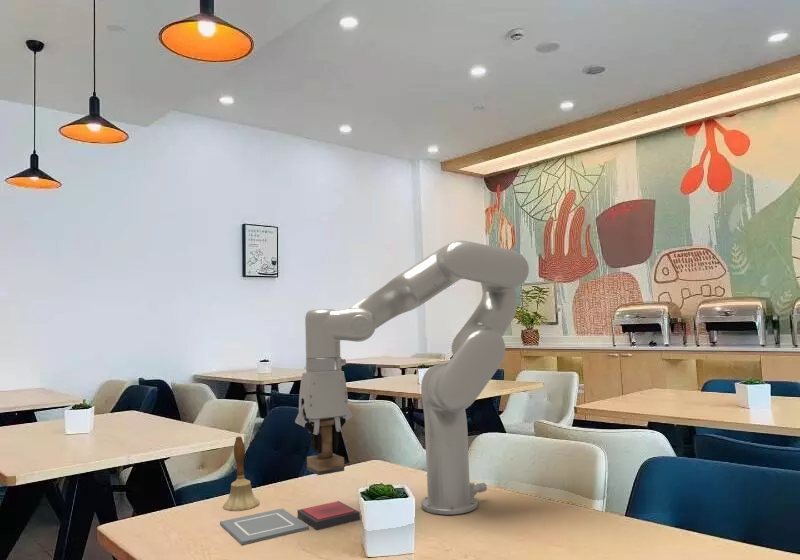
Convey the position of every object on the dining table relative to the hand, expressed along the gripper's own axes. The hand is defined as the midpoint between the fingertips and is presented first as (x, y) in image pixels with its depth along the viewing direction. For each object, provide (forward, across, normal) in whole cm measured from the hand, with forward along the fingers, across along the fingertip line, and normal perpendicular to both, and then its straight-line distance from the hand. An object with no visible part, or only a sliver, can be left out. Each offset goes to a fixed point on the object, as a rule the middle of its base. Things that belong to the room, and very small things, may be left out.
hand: (325, 450), depth 130 cm
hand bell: (+15, +12, -22) cm, 29 cm away
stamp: (+4, 0, 0) cm, 4 cm away
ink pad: (+15, 0, 0) cm, 15 cm away
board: (+15, +13, -4) cm, 20 cm away
